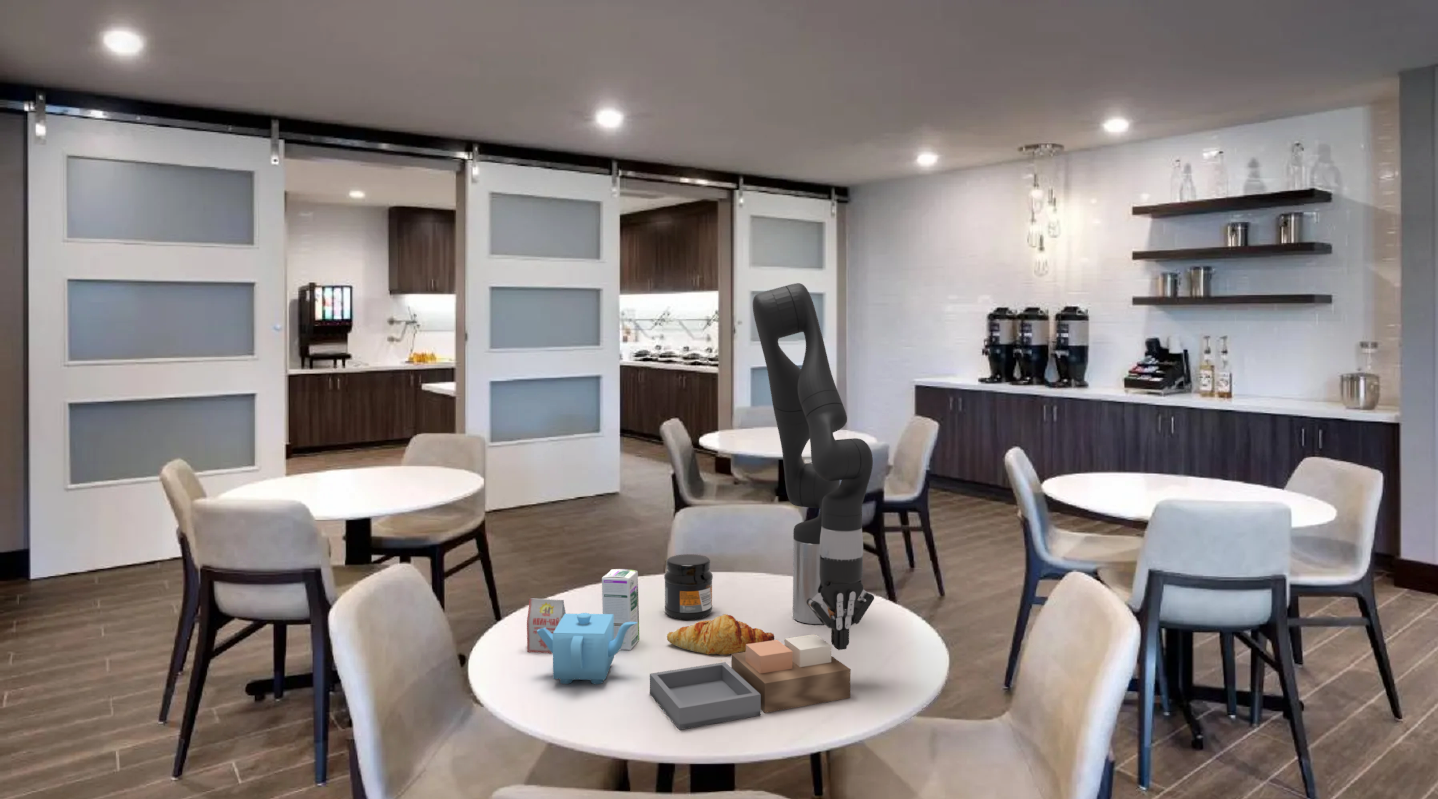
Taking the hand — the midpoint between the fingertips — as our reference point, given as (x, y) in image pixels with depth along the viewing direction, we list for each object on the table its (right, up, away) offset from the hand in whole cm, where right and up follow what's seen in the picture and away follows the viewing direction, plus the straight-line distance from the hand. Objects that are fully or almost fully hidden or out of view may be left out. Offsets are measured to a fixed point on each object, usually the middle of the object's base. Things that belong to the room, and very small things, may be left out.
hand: (839, 648), depth 161 cm
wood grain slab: (-9, -6, -3) cm, 12 cm away
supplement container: (-28, -3, +38) cm, 47 cm away
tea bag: (-55, -5, +16) cm, 57 cm away
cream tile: (-6, -1, -2) cm, 6 cm away
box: (-24, -7, -9) cm, 27 cm away
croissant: (-21, -5, +17) cm, 28 cm away
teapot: (-45, -6, +3) cm, 46 cm away
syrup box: (-41, -5, +19) cm, 45 cm away
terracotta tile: (-13, -2, -5) cm, 14 cm away
